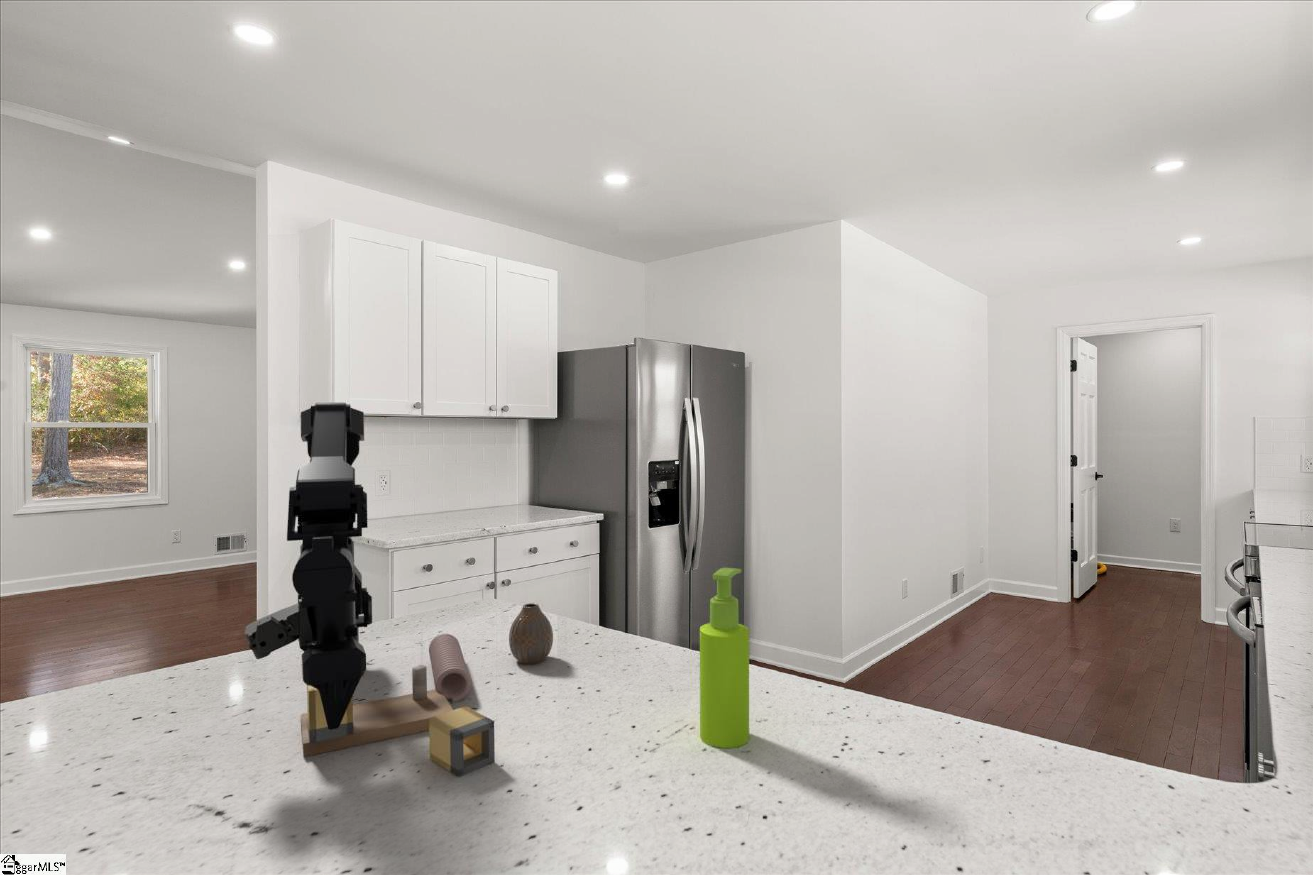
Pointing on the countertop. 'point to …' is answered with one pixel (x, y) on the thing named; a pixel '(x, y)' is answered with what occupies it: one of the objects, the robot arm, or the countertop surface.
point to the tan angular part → (461, 740)
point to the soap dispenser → (724, 670)
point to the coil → (449, 667)
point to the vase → (531, 635)
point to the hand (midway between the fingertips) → (330, 713)
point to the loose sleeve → (318, 721)
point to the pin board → (385, 717)
